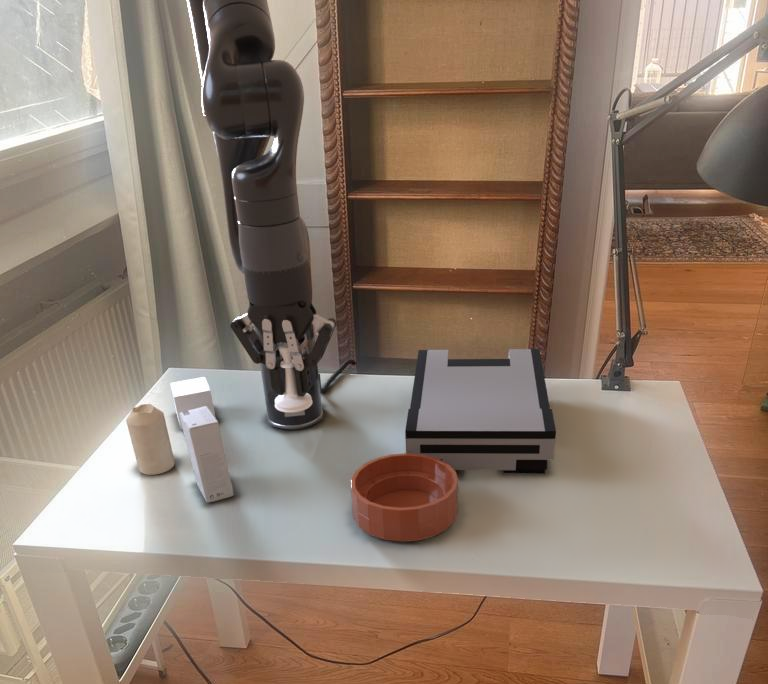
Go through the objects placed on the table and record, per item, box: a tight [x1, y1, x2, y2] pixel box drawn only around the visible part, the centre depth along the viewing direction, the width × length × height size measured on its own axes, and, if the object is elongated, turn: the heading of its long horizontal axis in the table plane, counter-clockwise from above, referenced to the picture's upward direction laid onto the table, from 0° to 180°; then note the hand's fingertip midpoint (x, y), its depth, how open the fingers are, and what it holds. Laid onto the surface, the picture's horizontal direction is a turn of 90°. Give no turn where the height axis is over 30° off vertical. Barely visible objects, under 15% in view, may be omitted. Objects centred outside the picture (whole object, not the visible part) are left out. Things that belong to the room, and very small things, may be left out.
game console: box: [404, 348, 557, 475], centre depth 124 cm, size 21×32×8 cm, turn 175°
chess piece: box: [275, 343, 313, 413], centre depth 99 cm, size 5×5×10 cm
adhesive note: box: [169, 376, 217, 430], centre depth 133 cm, size 6×6×6 cm
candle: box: [125, 403, 175, 476], centre depth 119 cm, size 6×6×10 cm
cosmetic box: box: [180, 406, 235, 503], centre depth 111 cm, size 6×4×12 cm
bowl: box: [350, 452, 459, 542], centre depth 106 cm, size 14×14×6 cm
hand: (292, 392), depth 101 cm, fingers closed on chess piece, 2 cm apart
